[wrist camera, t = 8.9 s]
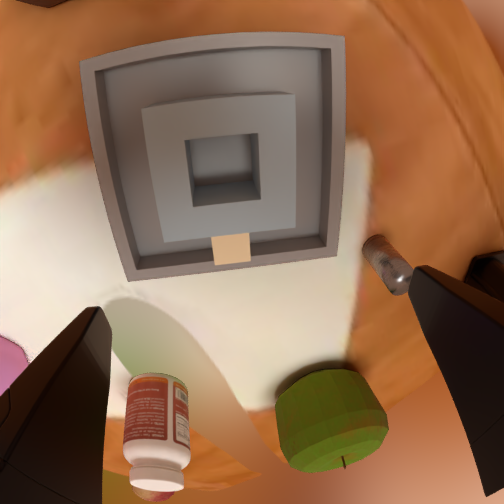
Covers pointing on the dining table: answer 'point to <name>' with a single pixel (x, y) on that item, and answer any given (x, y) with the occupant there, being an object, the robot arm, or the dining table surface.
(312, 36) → the tray
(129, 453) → the pill bottle
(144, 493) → the fruit
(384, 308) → the dining table surface
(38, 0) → the beer bottle
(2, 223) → the dining table surface
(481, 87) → the dining table surface
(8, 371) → the teakettle
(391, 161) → the dining table surface
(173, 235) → the ring
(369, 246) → the brown rounded cylinder
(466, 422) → the robot arm
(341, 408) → the apple
